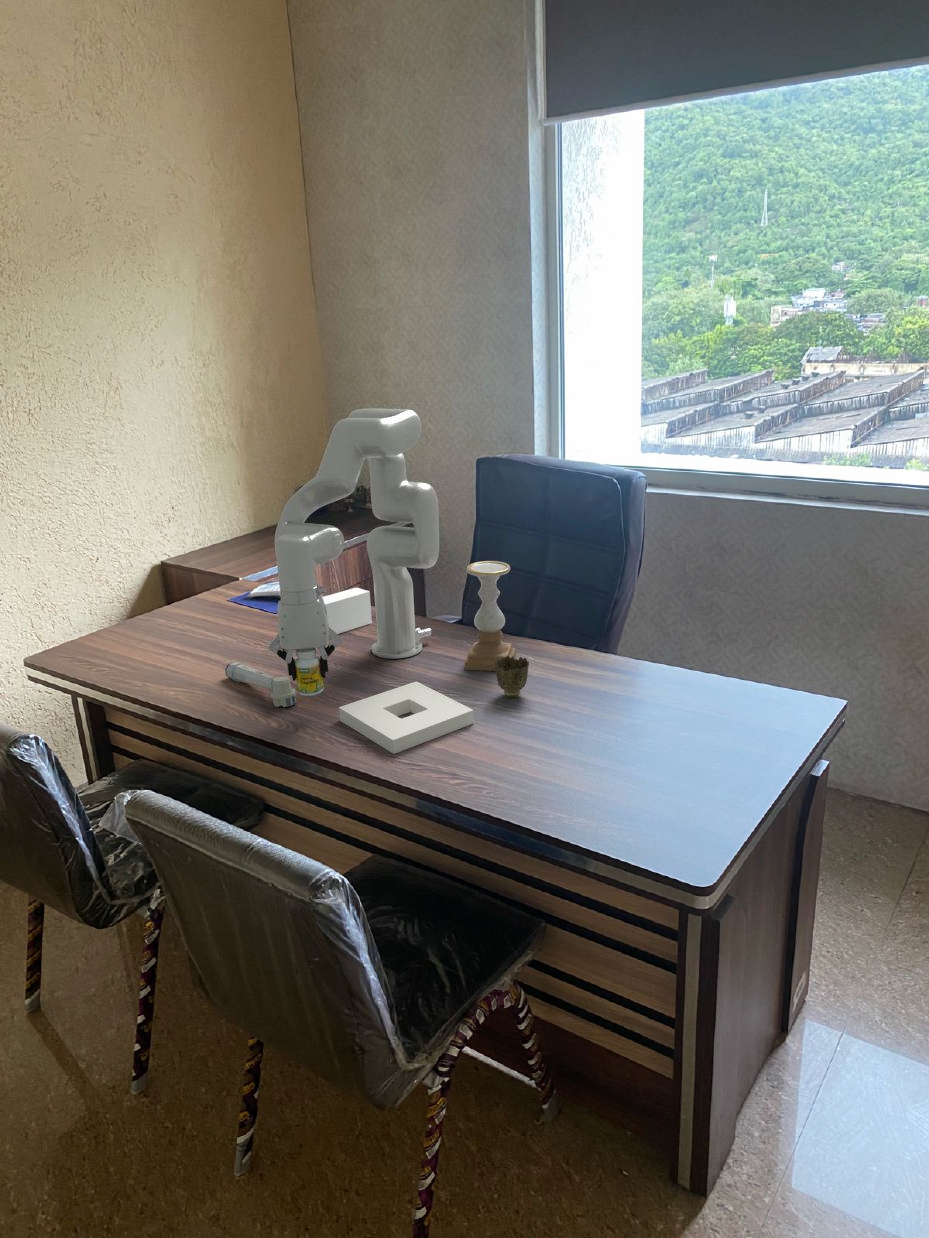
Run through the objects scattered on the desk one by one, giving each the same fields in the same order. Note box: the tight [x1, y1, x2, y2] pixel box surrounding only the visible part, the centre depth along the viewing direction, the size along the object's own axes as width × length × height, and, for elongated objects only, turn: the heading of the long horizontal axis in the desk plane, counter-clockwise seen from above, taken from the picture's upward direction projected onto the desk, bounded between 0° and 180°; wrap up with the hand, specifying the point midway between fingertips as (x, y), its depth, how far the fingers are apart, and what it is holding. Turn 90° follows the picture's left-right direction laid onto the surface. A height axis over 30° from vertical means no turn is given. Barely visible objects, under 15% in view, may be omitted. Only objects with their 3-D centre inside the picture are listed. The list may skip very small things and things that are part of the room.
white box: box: [321, 587, 373, 635], centre depth 242 cm, size 20×6×9 cm, turn 133°
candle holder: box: [464, 560, 517, 672], centre depth 215 cm, size 11×11×24 cm
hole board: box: [338, 680, 475, 755], centre depth 189 cm, size 20×20×3 cm
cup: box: [494, 656, 530, 699], centre depth 199 cm, size 8×7×8 cm
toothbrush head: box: [224, 661, 297, 708], centre depth 206 cm, size 5×7×25 cm
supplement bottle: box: [295, 648, 324, 697], centre depth 190 cm, size 5×5×10 cm
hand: (309, 675), depth 190 cm, fingers closed on supplement bottle, 5 cm apart
